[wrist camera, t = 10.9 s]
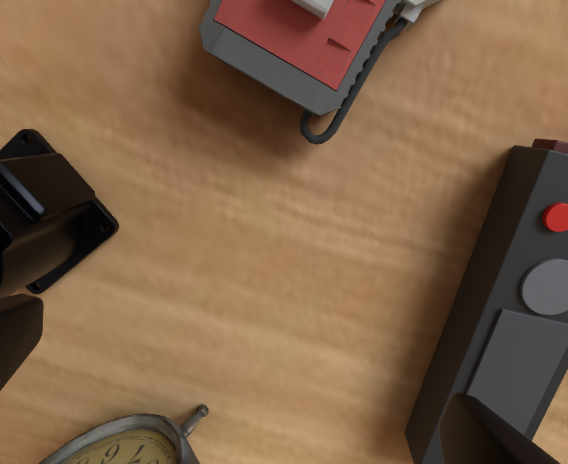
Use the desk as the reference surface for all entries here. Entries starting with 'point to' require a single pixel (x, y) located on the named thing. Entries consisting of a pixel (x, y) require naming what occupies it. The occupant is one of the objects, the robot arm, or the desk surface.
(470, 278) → the remote
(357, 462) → the desk surface
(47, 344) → the desk surface
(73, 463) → the alarm clock
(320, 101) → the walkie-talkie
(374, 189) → the desk surface
